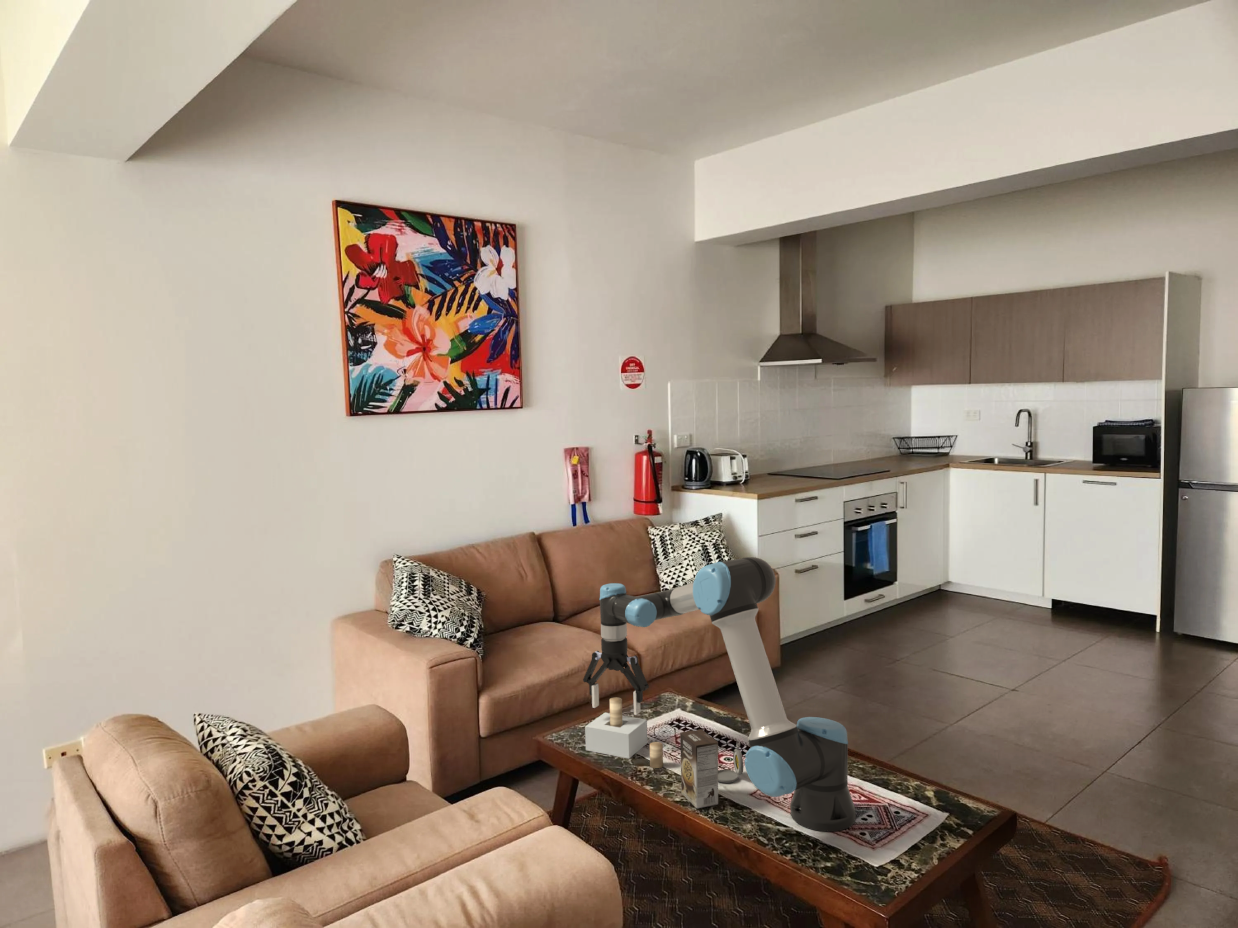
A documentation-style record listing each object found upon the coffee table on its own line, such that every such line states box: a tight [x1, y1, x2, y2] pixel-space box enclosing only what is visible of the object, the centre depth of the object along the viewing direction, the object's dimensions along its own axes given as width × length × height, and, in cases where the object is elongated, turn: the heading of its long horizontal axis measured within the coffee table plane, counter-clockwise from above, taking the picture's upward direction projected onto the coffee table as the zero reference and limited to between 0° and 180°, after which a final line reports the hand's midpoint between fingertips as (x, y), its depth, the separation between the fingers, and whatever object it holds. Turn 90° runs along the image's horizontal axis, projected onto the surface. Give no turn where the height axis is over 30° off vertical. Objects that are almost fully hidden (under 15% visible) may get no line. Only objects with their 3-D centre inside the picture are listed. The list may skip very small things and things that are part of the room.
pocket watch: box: [718, 739, 744, 784], centre depth 223 cm, size 8×8×10 cm
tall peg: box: [609, 696, 623, 727], centre depth 245 cm, size 4×4×14 cm
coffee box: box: [679, 728, 719, 809], centre depth 212 cm, size 9×6×16 cm
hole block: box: [584, 712, 648, 759], centre depth 245 cm, size 12×14×7 cm
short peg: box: [649, 741, 664, 769], centre depth 232 cm, size 4×4×6 cm
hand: (616, 709), depth 245 cm, fingers open, 13 cm apart
